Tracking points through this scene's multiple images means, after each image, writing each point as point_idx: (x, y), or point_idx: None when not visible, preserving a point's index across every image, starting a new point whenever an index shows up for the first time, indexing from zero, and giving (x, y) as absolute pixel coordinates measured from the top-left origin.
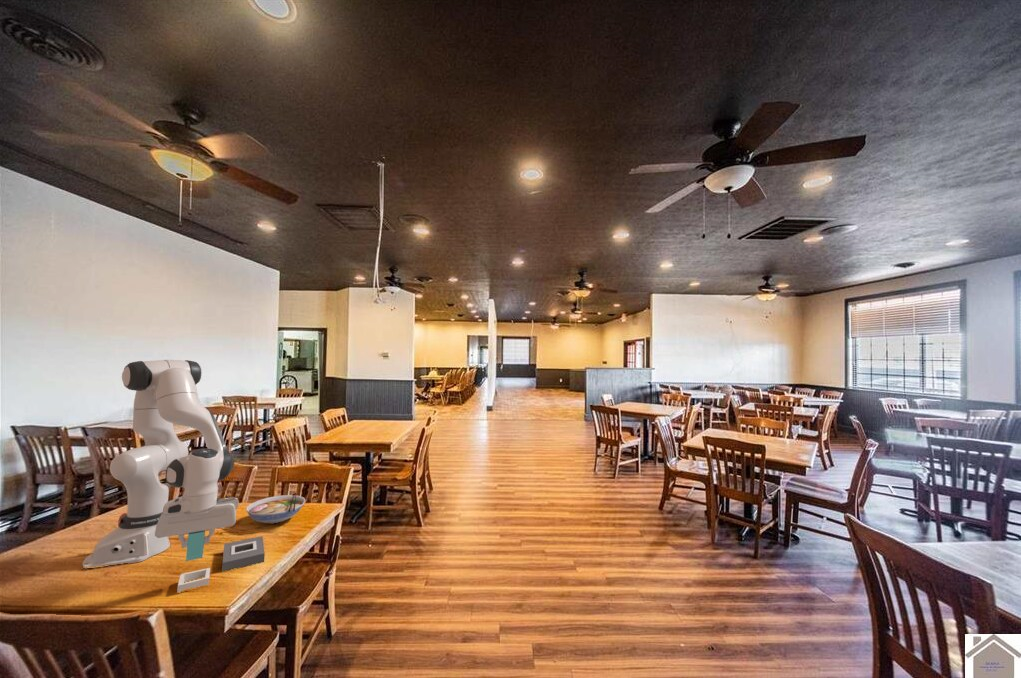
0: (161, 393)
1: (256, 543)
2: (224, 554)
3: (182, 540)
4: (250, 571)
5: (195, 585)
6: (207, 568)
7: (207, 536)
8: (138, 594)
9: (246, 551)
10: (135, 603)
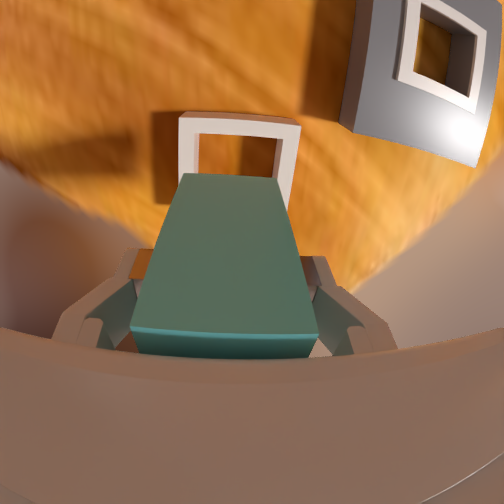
0: None
1: (483, 49)
2: (373, 40)
3: (122, 332)
4: (408, 192)
5: None
6: (289, 128)
7: (315, 290)
8: (71, 136)
9: (447, 100)
10: (81, 195)
